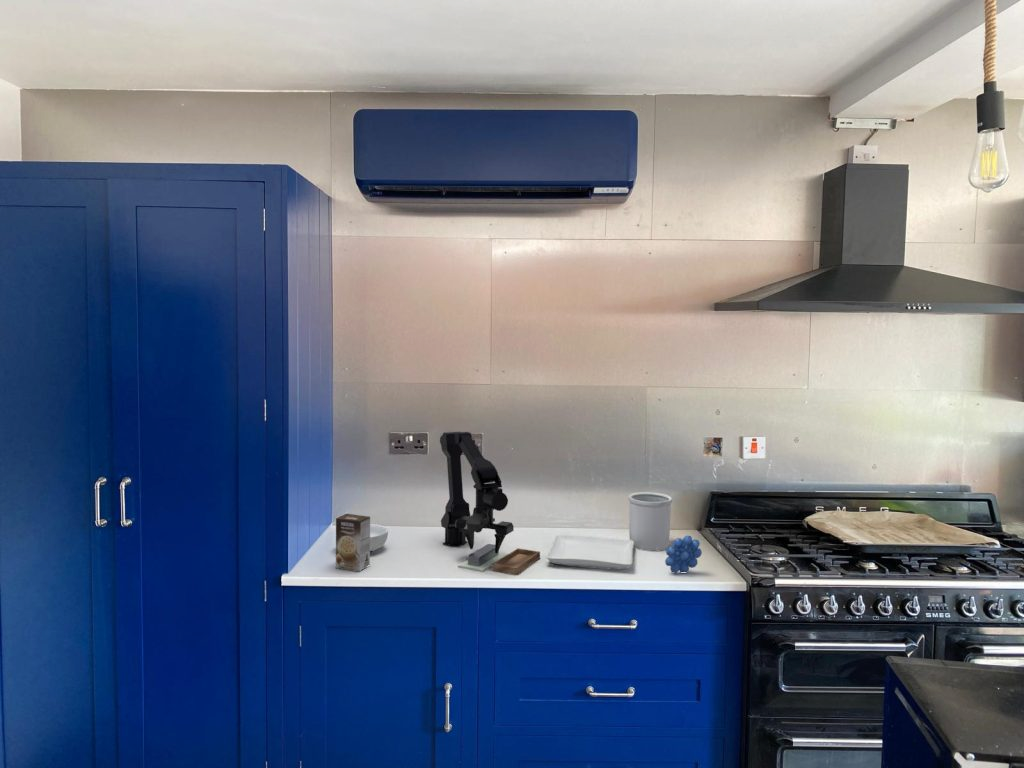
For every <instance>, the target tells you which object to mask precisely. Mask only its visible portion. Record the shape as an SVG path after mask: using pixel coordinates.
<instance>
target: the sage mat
mask: <svg viewBox="0 0 1024 768" xmlns="http://www.w3.org/2000/svg"><path fill="white" fill-rule="evenodd" d="M508 554H509V553H506V552H501V551H499V554H498V555H497V556H495V557H494V558H492V559H490V560H489V561H487V562H486V563H484V564H483V565H481V566H479V567H477V566H472V565H468V559H467V560H464V561H463V562H462V563H460V564H458V566H457V567H458V568H459V567H460V568H461V569H465V568H466V570H472V571H476V572H486V571H487V570H489V569H490V568H491V567H493V564H494V563H496V562H497V561H499V560H500V559H502V558H503V557H505V556H506V555H508Z"/></svg>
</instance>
